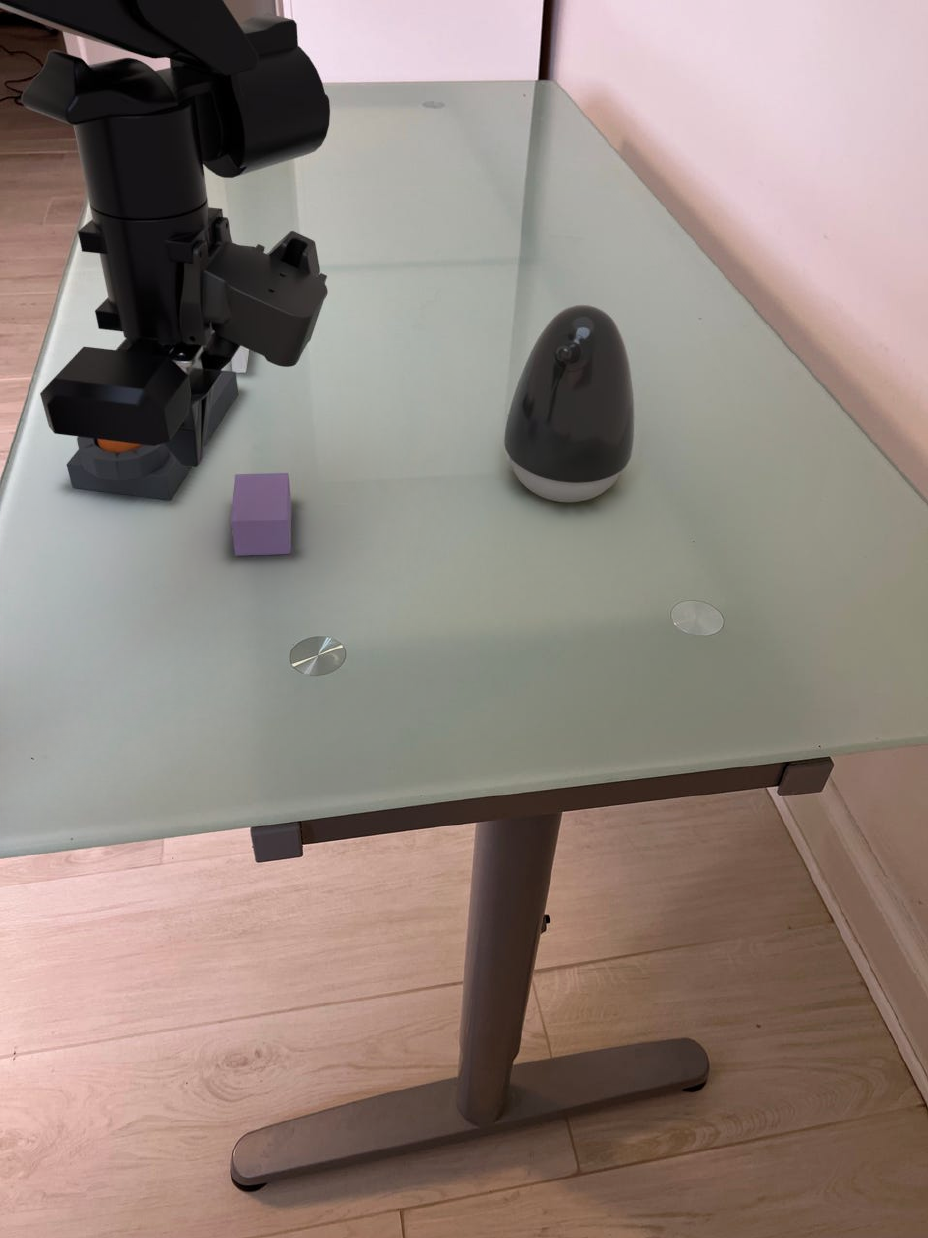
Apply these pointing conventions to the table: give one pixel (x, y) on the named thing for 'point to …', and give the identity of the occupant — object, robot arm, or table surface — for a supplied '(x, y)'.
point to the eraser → (240, 360)
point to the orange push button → (116, 445)
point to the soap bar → (261, 514)
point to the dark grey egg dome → (573, 408)
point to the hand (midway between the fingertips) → (191, 463)
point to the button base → (143, 457)
